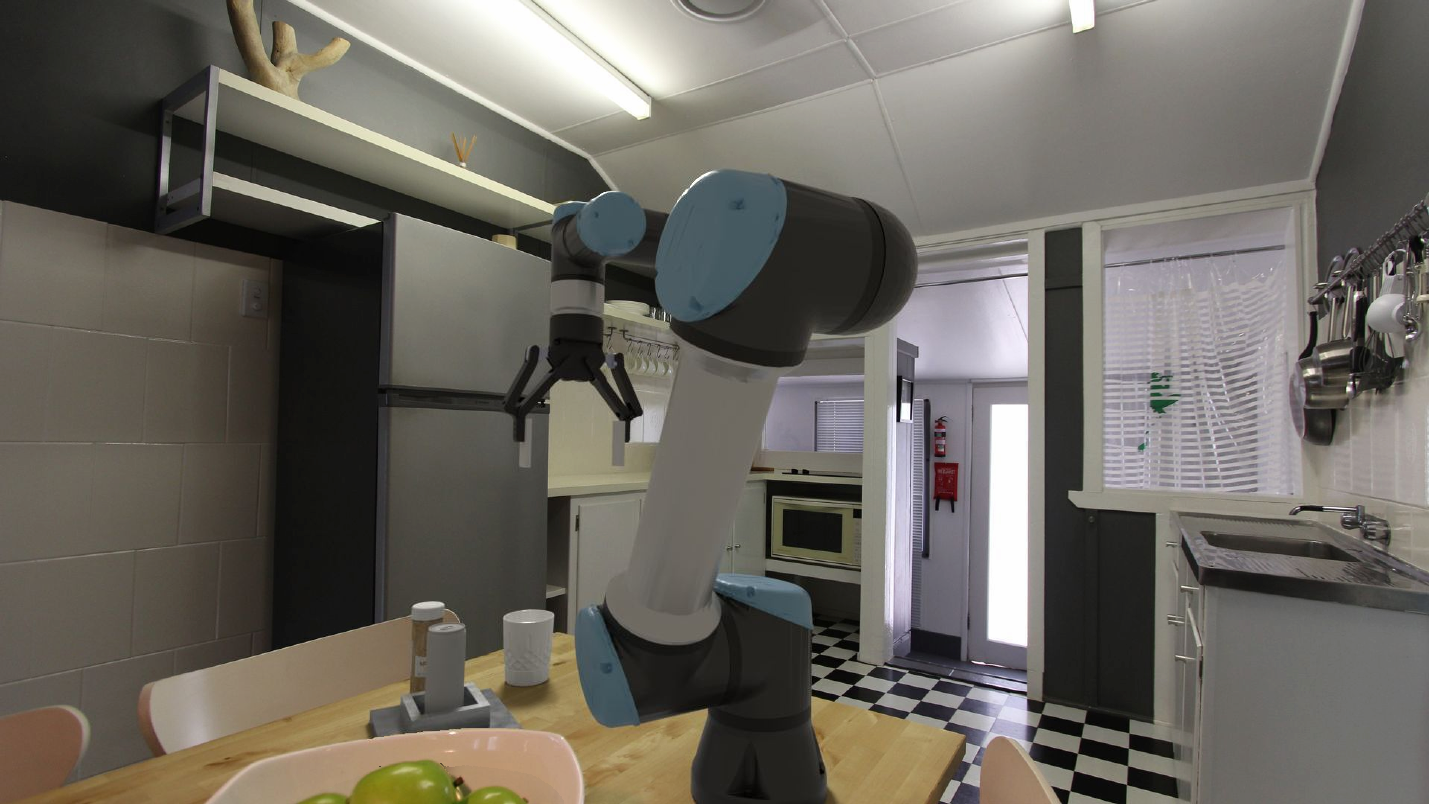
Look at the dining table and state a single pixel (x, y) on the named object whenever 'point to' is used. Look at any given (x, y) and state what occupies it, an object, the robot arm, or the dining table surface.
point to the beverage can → (445, 667)
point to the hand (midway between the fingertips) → (573, 466)
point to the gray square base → (442, 714)
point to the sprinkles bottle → (422, 640)
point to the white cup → (527, 646)
